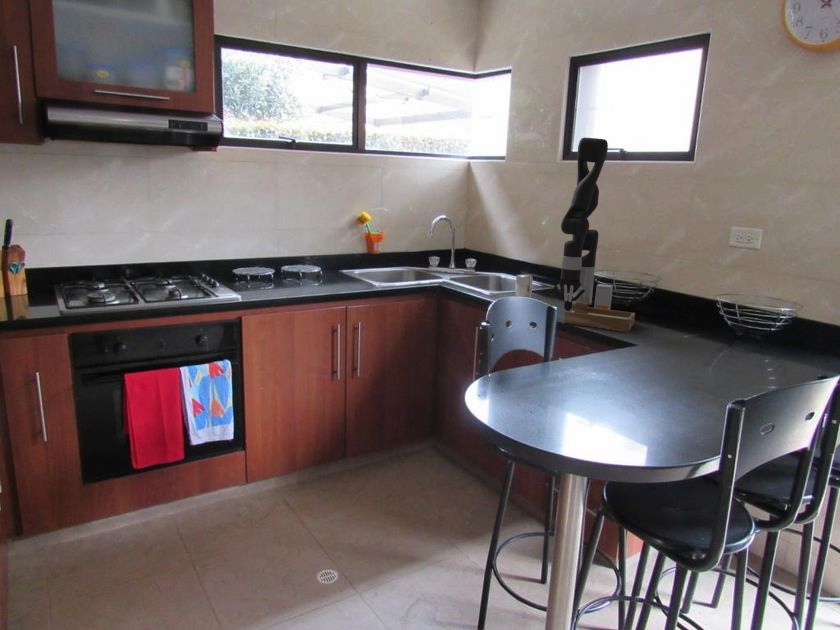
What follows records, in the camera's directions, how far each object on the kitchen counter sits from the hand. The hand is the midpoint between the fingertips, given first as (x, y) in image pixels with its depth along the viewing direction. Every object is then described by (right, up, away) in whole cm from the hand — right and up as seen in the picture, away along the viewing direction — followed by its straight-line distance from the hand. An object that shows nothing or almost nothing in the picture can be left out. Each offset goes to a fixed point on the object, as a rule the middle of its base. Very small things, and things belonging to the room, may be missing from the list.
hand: (567, 310), depth 246 cm
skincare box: (+17, -1, +11) cm, 20 cm away
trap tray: (+10, -5, -8) cm, 14 cm away
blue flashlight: (-17, 0, +11) cm, 20 cm away
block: (+5, -1, -2) cm, 5 cm away
